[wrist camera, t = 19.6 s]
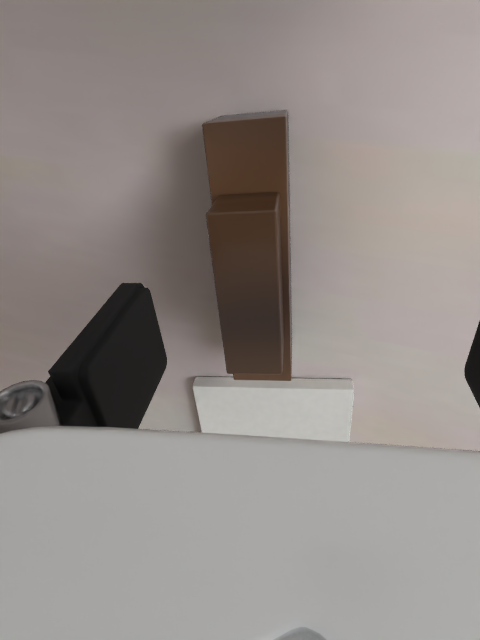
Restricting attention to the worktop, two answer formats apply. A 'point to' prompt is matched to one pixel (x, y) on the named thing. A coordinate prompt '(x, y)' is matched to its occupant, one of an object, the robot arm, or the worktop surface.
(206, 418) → the tile
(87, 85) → the worktop surface
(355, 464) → the robot arm
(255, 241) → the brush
